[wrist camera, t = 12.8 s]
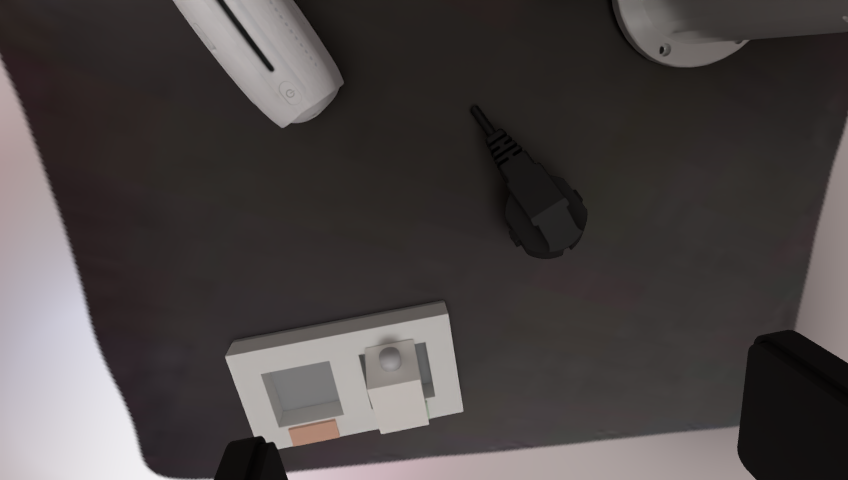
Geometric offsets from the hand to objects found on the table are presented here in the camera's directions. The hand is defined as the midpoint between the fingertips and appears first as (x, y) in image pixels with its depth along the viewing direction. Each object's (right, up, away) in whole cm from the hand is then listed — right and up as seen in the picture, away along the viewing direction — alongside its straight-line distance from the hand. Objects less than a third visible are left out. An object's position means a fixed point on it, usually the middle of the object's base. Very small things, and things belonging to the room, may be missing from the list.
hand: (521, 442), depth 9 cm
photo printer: (-11, +18, +23) cm, 31 cm away
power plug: (+2, +13, +28) cm, 31 cm away
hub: (-8, -7, +32) cm, 34 cm away
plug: (-4, -10, +31) cm, 33 cm away
